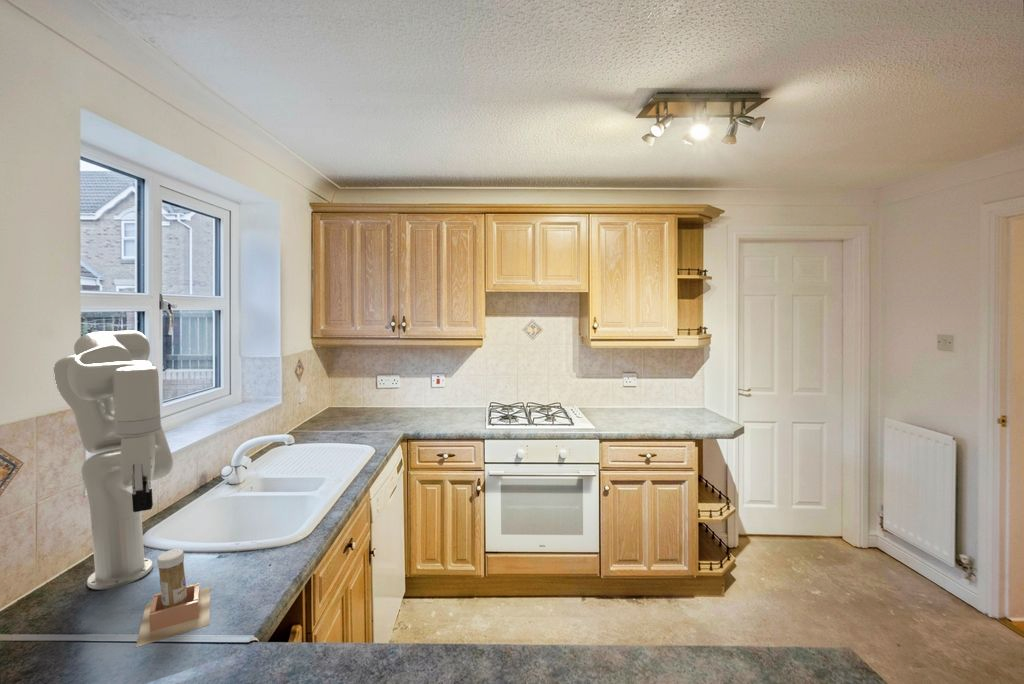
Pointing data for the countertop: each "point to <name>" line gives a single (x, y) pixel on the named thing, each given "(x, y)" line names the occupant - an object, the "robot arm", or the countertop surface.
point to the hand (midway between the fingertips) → (143, 509)
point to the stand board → (180, 628)
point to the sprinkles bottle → (172, 578)
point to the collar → (175, 610)
